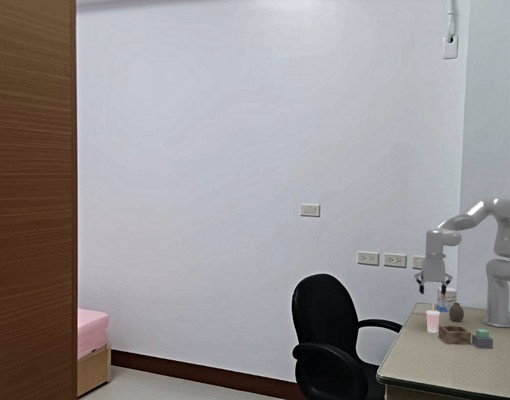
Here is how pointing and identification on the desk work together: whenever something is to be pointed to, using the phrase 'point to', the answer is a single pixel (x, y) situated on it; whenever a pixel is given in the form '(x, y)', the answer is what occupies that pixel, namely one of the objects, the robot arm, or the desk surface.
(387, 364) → the desk surface
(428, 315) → the beverage cup
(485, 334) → the button
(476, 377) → the desk surface
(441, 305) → the ink box
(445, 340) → the open wooden cube shelf
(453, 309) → the vase
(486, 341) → the button housing
